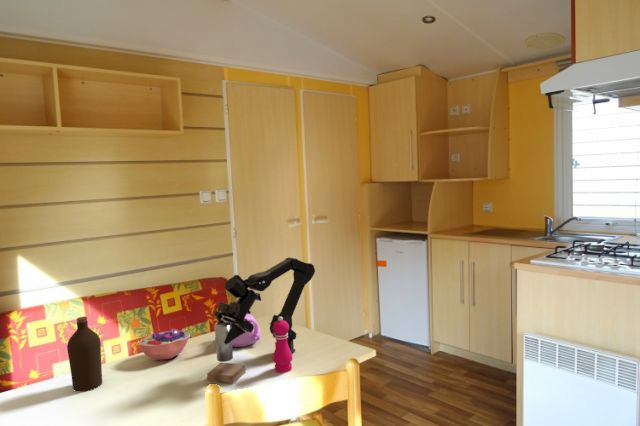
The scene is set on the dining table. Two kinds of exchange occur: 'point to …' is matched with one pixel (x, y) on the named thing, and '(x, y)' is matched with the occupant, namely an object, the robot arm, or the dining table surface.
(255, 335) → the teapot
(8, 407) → the dining table surface
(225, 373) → the walnut box
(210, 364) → the dining table surface
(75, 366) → the olive oil
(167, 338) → the cell model
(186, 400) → the dining table surface
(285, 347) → the pepper mill
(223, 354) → the tea tin
